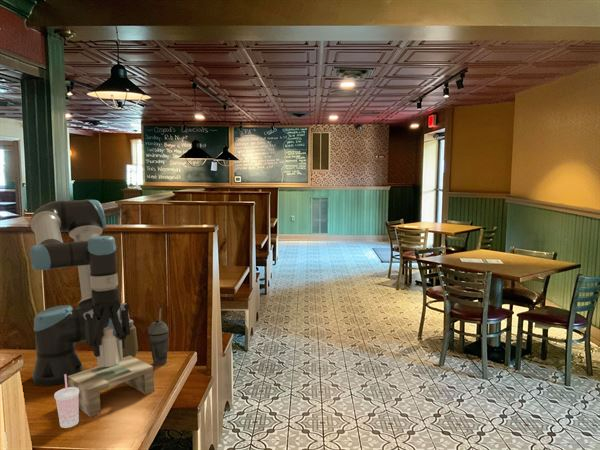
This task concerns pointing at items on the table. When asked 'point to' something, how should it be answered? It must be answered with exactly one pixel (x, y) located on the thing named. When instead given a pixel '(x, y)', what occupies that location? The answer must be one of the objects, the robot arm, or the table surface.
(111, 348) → the pepper shaker
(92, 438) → the table surface
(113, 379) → the cut-out shelf
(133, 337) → the squeeze bottle
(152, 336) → the beverage cup
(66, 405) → the beverage cup
